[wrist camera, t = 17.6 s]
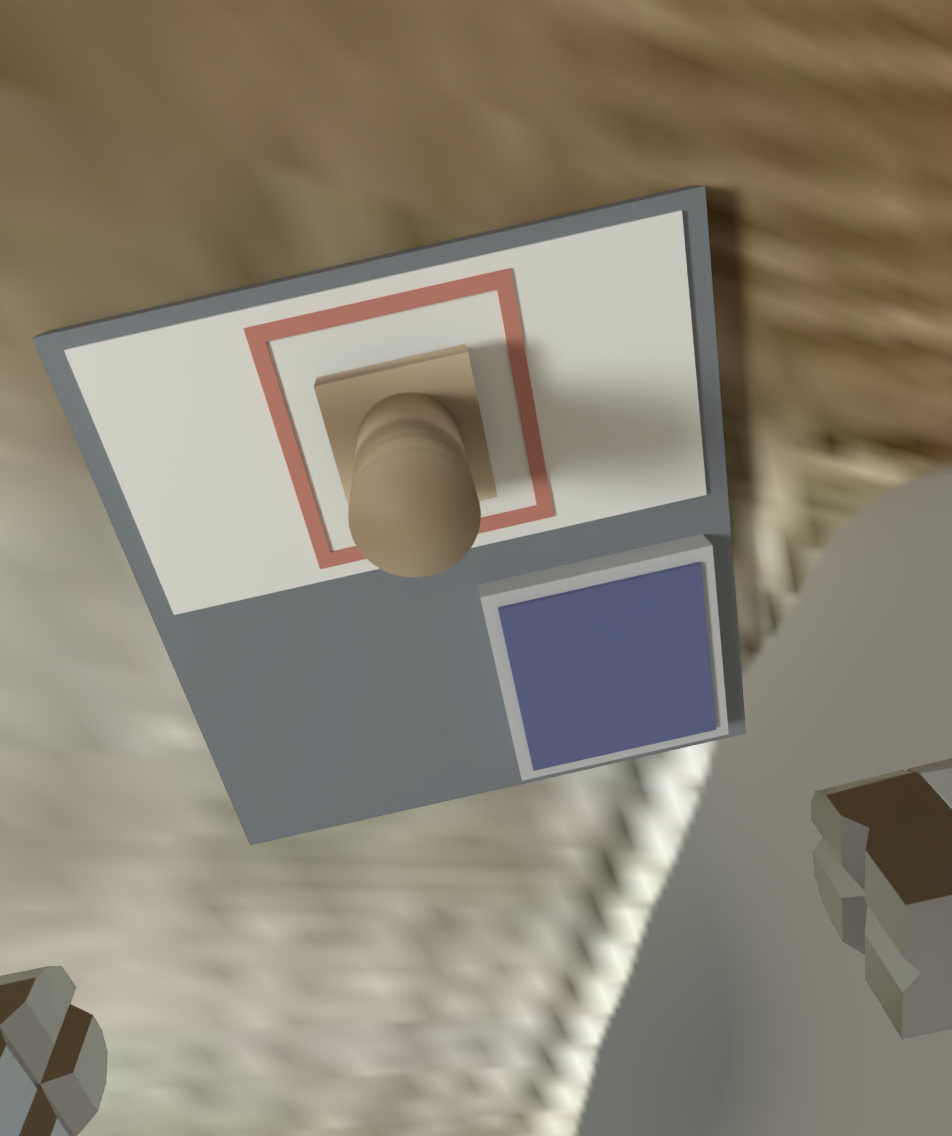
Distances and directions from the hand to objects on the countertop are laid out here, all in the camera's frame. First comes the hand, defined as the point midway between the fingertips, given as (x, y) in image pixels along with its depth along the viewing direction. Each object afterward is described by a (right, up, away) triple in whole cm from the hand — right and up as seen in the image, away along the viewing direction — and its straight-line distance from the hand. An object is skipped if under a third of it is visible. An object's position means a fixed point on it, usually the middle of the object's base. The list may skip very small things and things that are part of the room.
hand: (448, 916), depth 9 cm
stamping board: (-1, +4, +21) cm, 21 cm away
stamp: (-2, +8, +17) cm, 19 cm away
